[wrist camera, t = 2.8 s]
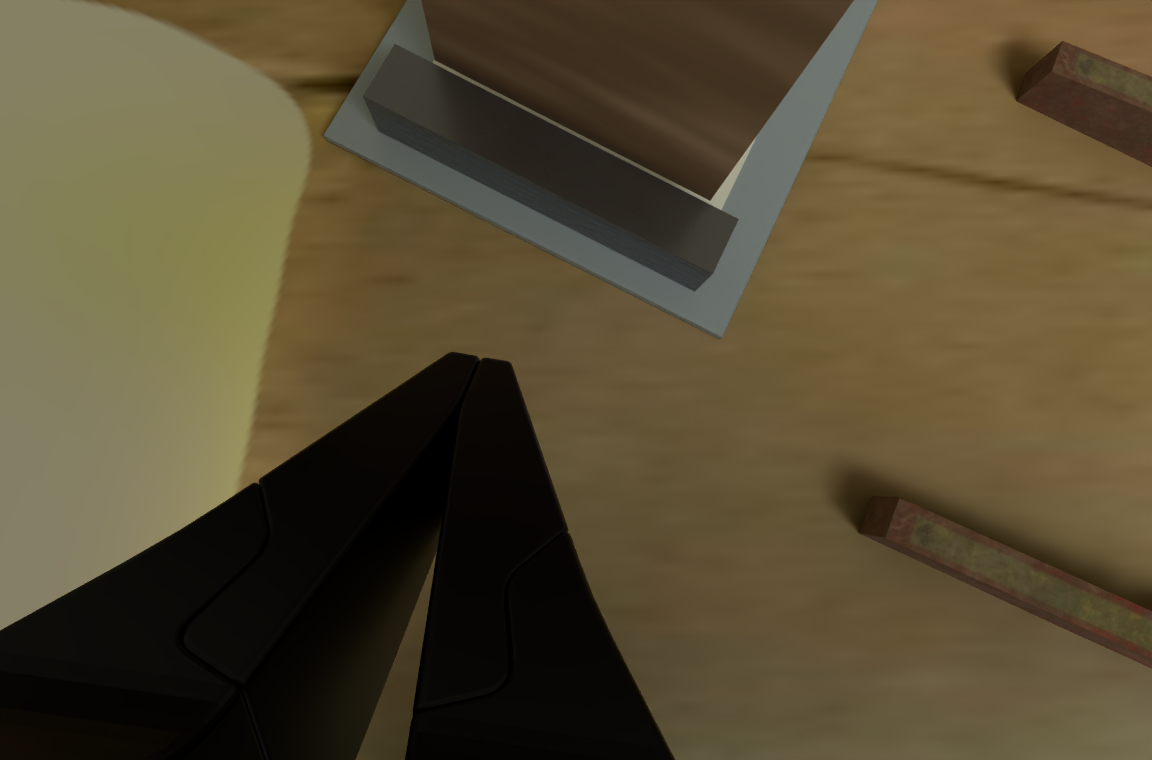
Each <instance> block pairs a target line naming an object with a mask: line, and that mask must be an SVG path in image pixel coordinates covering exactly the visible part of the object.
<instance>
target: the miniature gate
mask: <svg viewBox="0 0 1152 760" xmlns="http://www.w3.org/2000/svg"><path fill="white" fill-rule="evenodd" d="M1017 102H1019V103H1021V104H1023V105H1026V106H1028V107H1030V108H1032V109H1034V110H1036V111H1038V112H1040V113H1042V114H1044V115H1046V116H1048V117H1050V118H1052V119H1054V120H1056V121H1058V122H1061V123H1063V124H1065V125H1067V126H1069V127H1071V128H1073V129H1075V130H1077V131H1079V132H1081V133H1083V134H1085V135H1087V136H1089V137H1091V138H1093V139H1095V140H1098V141H1100V142H1102V143H1104V144H1106V145H1108V146H1110V147H1112V148H1114V149H1116V150H1118V151H1120V152H1122V153H1124V154H1126V155H1128V156H1130V157H1133V158H1135V159H1137V160H1139V161H1141V162H1143V163H1145V164H1147V165H1149V166H1151V167H1152V77H1151V76H1148V75H1146V74H1143V73H1141V72H1138V71H1136V70H1133V69H1131V68H1128V67H1126V66H1123V65H1121V64H1118V63H1116V62H1113V61H1111V60H1108V59H1106V58H1103V57H1101V56H1098V55H1096V54H1094V53H1091V52H1089V51H1086V50H1084V49H1081V48H1079V47H1076V46H1074V45H1071V44H1069V43H1066V42H1064V41H1062V42H1061V43H1060V44H1059V45H1057V46H1056V47H1055V48H1054V49H1053V50H1052V51H1051V52H1050V53H1048V54H1047V55H1046V56H1045V57H1044V58H1043V59H1042V60H1040V61H1039V62H1038V63H1037V64H1036V65H1035V66H1034V67H1033V68H1031V69H1030V70H1029V71H1028V72H1027V73H1026V76H1025V79H1024V81H1023V84H1022V87H1021V90H1020V92H1019V95H1018V98H1017ZM859 533H860V534H862V535H864V536H866V537H869V538H871V539H873V540H875V541H877V542H879V543H881V544H884V545H886V546H888V547H890V548H892V549H894V550H896V551H899V552H901V553H903V554H905V555H907V556H909V557H911V558H914V559H916V560H918V561H920V562H922V563H924V564H927V565H929V566H931V567H933V568H935V569H937V570H939V571H942V572H944V573H946V574H948V575H950V576H952V577H954V578H957V579H959V580H961V581H963V582H965V583H967V584H969V585H972V586H974V587H976V588H978V589H980V590H982V591H984V592H987V593H989V594H991V595H993V596H995V597H997V598H1000V599H1002V600H1004V601H1006V602H1008V603H1010V604H1012V605H1015V606H1017V607H1019V608H1021V609H1023V610H1025V611H1027V612H1030V613H1032V614H1034V615H1036V616H1038V617H1040V618H1042V619H1045V620H1047V621H1049V622H1051V623H1053V624H1056V625H1058V626H1060V627H1062V628H1064V629H1067V630H1069V631H1071V632H1073V633H1075V634H1078V635H1080V636H1082V637H1084V638H1086V639H1089V640H1091V641H1093V642H1095V643H1097V644H1099V645H1102V646H1104V647H1106V648H1108V649H1110V650H1113V651H1115V652H1117V653H1119V654H1121V655H1124V656H1126V657H1128V658H1130V659H1132V660H1135V661H1137V662H1139V663H1141V664H1143V665H1146V666H1148V667H1150V668H1152V611H1150V610H1148V609H1146V608H1143V607H1141V606H1139V605H1137V604H1134V603H1132V602H1130V601H1128V600H1126V599H1123V598H1121V597H1119V596H1117V595H1114V594H1112V593H1110V592H1108V591H1106V590H1103V589H1101V588H1099V587H1097V586H1094V585H1092V584H1090V583H1088V582H1086V581H1083V580H1081V579H1079V578H1077V577H1074V576H1072V575H1070V574H1068V573H1066V572H1063V571H1061V570H1059V569H1057V568H1055V567H1052V566H1050V565H1048V564H1046V563H1043V562H1041V561H1039V560H1037V559H1035V558H1032V557H1030V556H1028V555H1026V554H1023V553H1021V552H1019V551H1017V550H1015V549H1012V548H1010V547H1008V546H1006V545H1003V544H1001V543H999V542H997V541H995V540H992V539H990V538H988V537H986V536H983V535H981V534H979V533H977V532H975V531H972V530H970V529H968V528H966V527H963V526H961V525H959V524H957V523H955V522H952V521H950V520H948V519H946V518H943V517H941V516H939V515H937V514H935V513H932V512H930V511H928V510H926V509H923V508H921V507H919V506H917V505H915V504H912V503H910V502H908V501H906V500H903V499H901V498H894V497H875V496H872V499H871V502H870V504H869V507H868V510H867V513H866V515H865V518H864V521H863V524H862V526H861V529H860V532H859Z"/></svg>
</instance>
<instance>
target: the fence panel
mask: <svg viewBox="0 0 1152 760" xmlns="http://www.w3.org/2000/svg"><path fill="white" fill-rule="evenodd" d="M421 1H422V6H423V10H424V15H425V19H426V23H427V28H428V32H429V37H430V41H431V46H432V50H433V55H434V59H435V61H437V62H439V63H441V64H443V65H445V66H447V67H449V68H451V69H453V70H455V71H456V72H458V73H460V74H462V75H464V76H466V77H468V78H470V79H472V80H474V81H476V82H478V83H480V84H482V85H484V86H486V87H488V88H490V89H492V90H494V91H496V92H498V93H500V94H502V95H504V96H505V97H507V98H509V99H511V100H513V101H515V102H517V103H519V104H521V105H523V106H525V107H527V108H529V109H531V110H533V111H535V112H537V113H539V114H541V115H543V116H545V117H547V118H549V119H551V120H553V121H554V122H556V123H558V124H560V125H562V126H564V127H566V128H568V129H570V130H572V131H574V132H576V133H578V134H580V135H582V136H584V137H586V138H588V139H590V140H592V141H594V142H596V143H598V144H600V145H602V146H603V147H605V148H607V149H609V150H611V151H613V152H615V153H617V154H619V155H621V156H623V157H625V158H627V159H629V160H631V161H633V162H635V163H637V164H639V165H641V166H643V167H645V168H647V169H649V170H651V171H652V172H654V173H656V174H658V175H660V176H662V177H664V178H666V179H668V180H670V181H672V182H674V183H676V184H678V185H680V186H682V187H684V188H686V189H688V190H690V191H692V192H694V193H696V194H698V195H700V196H701V197H703V198H705V199H707V200H709V201H710V200H711V199H712V198H713V196H714V195H715V193H716V192H717V191H718V189H719V188H720V186H721V185H722V184H723V182H724V181H725V180H726V178H727V177H728V175H729V174H730V173H731V171H732V170H733V168H734V167H735V166H736V164H737V163H738V161H739V160H740V159H741V157H742V156H743V154H744V153H745V152H746V150H747V149H748V147H749V146H750V145H751V143H752V142H753V140H754V139H755V138H756V136H757V135H758V134H759V132H760V131H761V129H762V128H763V127H764V125H765V124H766V122H767V121H768V120H769V118H770V117H771V115H772V114H773V113H774V111H775V110H776V108H777V107H778V106H779V104H780V103H781V101H782V100H783V99H784V97H785V96H786V94H787V93H788V92H789V90H790V89H791V88H792V86H793V85H794V83H795V82H796V81H797V79H798V78H799V76H800V75H801V74H802V72H803V71H804V69H805V68H806V67H807V65H808V64H809V62H810V61H811V60H812V58H813V57H814V55H815V54H816V53H817V51H818V50H819V48H820V47H821V46H822V44H823V43H824V42H825V40H826V39H827V37H828V36H829V35H830V33H831V32H832V30H833V29H834V28H835V26H836V25H837V23H838V22H839V21H840V19H841V18H842V16H843V15H844V14H845V12H846V11H847V9H848V8H849V7H850V5H851V4H852V2H853V1H854V0H421Z"/></svg>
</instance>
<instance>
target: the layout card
mask: <svg viewBox="0 0 1152 760" xmlns="http://www.w3.org/2000/svg"><path fill="white" fill-rule="evenodd" d="M877 1H878V0H854V1H853V2H852V4H851V5H850V7H849V8H848V9H847V11H846V12H845V14H844V15H843V16H842V18H841V19H840V21H839V22H838V23H837V25H836V26H835V28H834V29H833V30H832V32H831V33H830V35H829V36H828V37H827V39H826V40H825V42H824V43H823V44H822V46H821V47H820V48H819V50H818V51H817V53H816V54H815V55H814V57H813V58H812V60H811V61H810V62H809V64H808V65H807V67H806V68H805V69H804V71H803V72H802V74H801V75H800V76H799V78H798V79H797V81H796V82H795V83H794V85H793V86H792V88H791V89H790V90H789V92H788V93H787V94H786V96H785V97H784V99H783V100H782V101H781V103H780V104H779V106H778V107H777V108H776V110H775V111H774V113H773V114H772V115H771V117H770V118H769V120H768V121H767V122H766V124H765V125H764V127H763V128H762V129H761V131H760V132H759V134H758V135H757V136H756V138H755V139H754V140H753V142H752V143H751V145H750V146H749V147H748V149H747V150H746V152H745V153H744V154H743V156H742V157H741V159H740V160H739V161H738V163H737V164H736V166H735V167H734V168H733V170H732V171H731V173H730V174H729V175H728V177H727V178H726V180H725V181H724V182H723V184H722V185H721V186H720V188H719V189H718V191H717V192H716V193H715V195H714V196H713V198H712V199H711V200H710V201H709V200H707V199H705V198H703V197H701V196H700V195H698V194H696V193H694V192H692V191H690V190H688V189H686V188H684V187H682V186H680V185H678V184H676V183H674V182H672V181H670V180H668V179H666V178H664V177H662V176H660V175H658V174H656V173H654V172H652V171H651V170H649V169H647V168H645V167H643V166H641V165H639V164H637V163H635V162H633V161H631V160H629V159H627V158H625V157H623V156H621V155H619V154H617V153H615V152H613V151H611V150H609V149H607V148H605V147H603V146H602V145H600V144H598V143H596V142H594V141H592V140H590V139H588V138H586V137H584V136H582V135H580V134H578V133H576V132H574V131H572V130H570V129H568V128H566V127H564V126H562V125H560V124H558V123H556V122H554V121H553V120H551V119H549V118H547V117H545V116H543V115H541V114H539V113H537V112H535V111H533V110H531V109H529V108H527V107H525V106H523V105H521V104H519V103H517V102H515V101H513V100H511V99H509V98H507V97H505V96H504V95H502V94H500V93H498V92H496V91H494V90H492V89H490V88H488V87H486V86H484V85H482V84H480V83H478V82H476V81H474V80H472V79H470V78H468V77H466V76H464V75H462V74H460V73H458V72H456V71H455V70H453V69H451V68H449V67H447V66H445V65H443V64H441V63H439V62H437V61H435V59H434V55H433V50H432V46H431V41H430V37H429V32H428V28H427V23H426V19H425V15H424V10H423V6H422V1H421V0H407V1H406V3H405V4H404V6H403V7H402V9H401V11H400V12H399V14H398V16H397V17H396V19H395V20H394V22H393V24H392V25H391V27H390V28H389V30H388V32H387V33H386V35H385V37H384V38H383V40H382V41H381V43H380V45H379V46H378V48H377V49H376V51H375V53H374V54H373V56H372V58H371V59H370V61H369V62H368V64H367V66H366V67H365V69H364V70H363V72H362V74H361V75H360V77H359V79H358V80H357V82H356V83H355V85H354V87H353V88H352V90H351V92H350V93H349V95H348V96H347V98H346V100H345V101H344V103H343V104H342V106H341V108H340V109H339V111H338V113H337V114H336V116H335V117H334V119H333V121H332V122H331V124H330V125H329V127H328V129H327V130H326V132H325V134H324V135H323V136H324V137H325V139H326V140H327V141H329V142H331V143H333V144H335V145H337V146H339V147H341V148H343V149H345V150H347V151H349V152H351V153H353V154H355V155H357V156H359V157H361V158H363V159H365V160H367V161H369V162H371V163H373V164H375V165H376V166H378V167H380V168H382V169H384V170H386V171H388V172H390V173H392V174H394V175H396V176H398V177H400V178H402V179H404V180H406V181H408V182H410V183H412V184H414V185H416V186H418V187H420V188H422V189H424V190H426V191H428V192H430V193H432V194H434V195H436V196H438V197H440V198H442V199H444V200H446V201H448V202H450V203H452V204H454V205H456V206H458V207H459V208H461V209H463V210H465V211H467V212H469V213H471V214H473V215H475V216H477V217H479V218H481V219H483V220H485V221H487V222H489V223H491V224H493V225H495V226H497V227H499V228H501V229H503V230H505V231H507V232H509V233H511V234H513V235H515V236H517V237H519V238H521V239H523V240H525V241H527V242H529V243H531V244H533V245H535V246H537V247H539V248H541V249H543V250H544V251H546V252H548V253H550V254H552V255H554V256H556V257H558V258H560V259H562V260H564V261H566V262H568V263H570V264H572V265H574V266H576V267H578V268H580V269H582V270H584V271H586V272H588V273H590V274H592V275H594V276H596V277H598V278H600V279H602V280H604V281H606V282H608V283H610V284H612V285H614V286H616V287H618V288H620V289H622V290H624V291H626V292H627V293H629V294H631V295H633V296H635V297H637V298H639V299H641V300H643V301H645V302H647V303H649V304H651V305H653V306H655V307H657V308H659V309H661V310H663V311H665V312H667V313H669V314H671V315H673V316H675V317H677V318H679V319H681V320H683V321H685V322H687V323H689V324H691V325H693V326H695V327H697V328H699V329H701V330H703V331H705V332H707V333H709V334H710V335H712V336H714V337H716V338H718V339H720V338H722V337H723V334H724V332H725V330H726V328H727V326H728V324H729V321H730V319H731V317H732V315H733V313H734V311H735V308H736V306H737V304H738V302H739V300H740V298H741V295H742V293H743V291H744V289H745V287H746V285H747V282H748V280H749V278H750V276H751V274H752V272H753V269H754V267H755V265H756V263H757V261H758V259H759V256H760V254H761V252H762V250H763V248H764V246H765V243H766V241H767V239H768V237H769V235H770V233H771V230H772V228H773V226H774V224H775V222H776V220H777V217H778V215H779V213H780V211H781V209H782V207H783V204H784V202H785V200H786V198H787V196H788V194H789V191H790V189H791V187H792V185H793V183H794V181H795V178H796V176H797V174H798V172H799V170H800V168H801V165H802V163H803V161H804V159H805V157H806V155H807V152H808V150H809V148H810V146H811V144H812V142H813V139H814V137H815V135H816V133H817V131H818V129H819V126H820V124H821V122H822V120H823V118H824V116H825V113H826V111H827V109H828V107H829V105H830V103H831V100H832V98H833V96H834V94H835V92H836V90H837V87H838V85H839V83H840V81H841V79H842V77H843V74H844V72H845V70H846V68H847V66H848V64H849V61H850V59H851V57H852V55H853V53H854V51H855V48H856V46H857V44H858V42H859V40H860V38H861V35H862V33H863V31H864V29H865V27H866V25H867V22H868V20H869V18H870V16H871V14H872V12H873V9H874V7H875V5H876V3H877ZM394 44H396V45H398V46H400V47H402V48H404V49H406V50H408V51H410V52H412V53H414V54H416V55H418V56H420V57H422V58H424V59H426V60H428V61H430V62H432V63H434V64H436V65H438V66H440V67H442V68H444V69H445V70H447V71H449V72H451V73H453V74H455V75H457V76H459V77H461V78H463V79H465V80H467V81H469V82H471V83H473V84H475V85H477V86H479V87H481V88H483V89H485V90H487V91H489V92H491V93H493V94H494V95H496V96H498V97H500V98H502V99H504V100H506V101H508V102H510V103H512V104H514V105H516V106H518V107H520V108H522V109H524V110H526V111H528V112H530V113H532V114H534V115H536V116H538V117H540V118H542V119H543V120H545V121H547V122H549V123H551V124H553V125H555V126H557V127H559V128H561V129H563V130H565V131H567V132H569V133H571V134H573V135H575V136H577V137H579V138H581V139H583V140H585V141H587V142H589V143H591V144H592V145H594V146H596V147H598V148H600V149H602V150H604V151H606V152H608V153H610V154H612V155H614V156H616V157H618V158H620V159H622V160H624V161H626V162H628V163H630V164H632V165H634V166H636V167H638V168H640V169H642V170H643V171H645V172H647V173H649V174H651V175H653V176H655V177H657V178H659V179H661V180H663V181H665V182H667V183H669V184H671V185H673V186H675V187H677V188H679V189H681V190H683V191H685V192H687V193H689V194H691V195H692V196H694V197H696V198H698V199H700V200H702V201H704V202H706V203H708V204H710V205H712V206H714V207H716V208H718V209H720V210H722V211H724V212H726V213H728V214H730V215H732V216H734V217H736V218H738V219H739V220H738V222H737V224H736V226H735V228H734V231H733V233H732V235H731V237H730V239H729V241H728V243H727V245H726V247H725V250H724V252H723V254H722V256H721V258H720V260H719V262H718V264H717V267H716V269H715V271H714V273H713V274H712V275H711V276H710V277H709V278H708V279H707V280H706V281H705V282H704V283H703V284H702V285H701V286H700V287H699V288H698V289H697V290H696V291H695V292H694V291H692V290H690V289H688V288H686V287H684V286H682V285H680V284H678V283H677V282H675V281H673V280H671V279H669V278H667V277H665V276H663V275H661V274H659V273H657V272H655V271H653V270H651V269H649V268H647V267H645V266H643V265H641V264H639V263H637V262H635V261H633V260H631V259H629V258H627V257H625V256H623V255H621V254H619V253H617V252H615V251H613V250H611V249H609V248H607V247H606V246H604V245H602V244H600V243H598V242H596V241H594V240H592V239H590V238H588V237H586V236H584V235H582V234H580V233H578V232H576V231H574V230H572V229H570V228H568V227H566V226H564V225H562V224H560V223H558V222H556V221H554V220H552V219H550V218H548V217H546V216H544V215H542V214H540V213H538V212H536V211H535V210H533V209H531V208H529V207H527V206H525V205H523V204H521V203H519V202H517V201H515V200H513V199H511V198H509V197H507V196H505V195H503V194H501V193H499V192H497V191H495V190H493V189H491V188H489V187H487V186H485V185H483V184H481V183H479V182H477V181H475V180H473V179H471V178H469V177H467V176H465V175H464V174H462V173H460V172H458V171H456V170H454V169H452V168H450V167H448V166H446V165H444V164H442V163H440V162H438V161H436V160H434V159H432V158H430V157H428V156H426V155H424V154H422V153H420V152H418V151H416V150H414V149H412V148H410V147H408V146H406V145H404V144H402V143H400V142H398V141H396V140H395V139H393V138H391V137H389V136H387V135H385V134H383V133H381V132H379V131H378V129H377V127H376V125H375V122H374V120H373V118H372V116H371V113H370V111H369V109H368V107H367V104H366V102H365V100H364V97H363V95H364V93H365V92H366V90H367V88H368V87H369V85H370V83H371V82H372V80H373V79H374V77H375V75H376V74H377V72H378V70H379V69H380V67H381V65H382V64H383V62H384V61H385V59H386V57H387V56H388V54H389V52H390V51H391V49H392V48H393V46H394Z"/></svg>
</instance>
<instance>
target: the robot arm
mask: <svg viewBox="0 0 1152 760" xmlns="http://www.w3.org/2000/svg"><path fill="white" fill-rule="evenodd" d="M436 551H437V555H436V562H435V568H434V575H433V581H432V588H431V594H430V601H429V607H428V614H427V621H426V627H425V634H424V640H423V647H422V653H421V660H420V667H419V673H418V680H417V686H416V693H415V699H414V706H413V718H412V721H411V726H410V732H409V738H408V744H407V751H406V756H405V760H675V758H674V756H673V755H672V753H671V751H670V749H669V747H668V745H667V743H666V741H665V739H664V737H663V735H662V733H661V731H660V729H659V727H658V726H657V724H656V722H655V720H654V718H653V716H652V714H651V712H650V710H649V708H648V706H647V704H646V702H645V700H644V698H643V696H642V694H641V692H640V690H639V688H638V686H637V684H636V682H635V680H634V678H633V676H632V674H631V673H630V671H629V669H628V667H627V665H626V663H625V661H624V659H623V657H622V655H621V653H620V651H619V649H618V647H617V645H616V643H615V641H614V639H613V637H612V635H611V633H610V631H609V629H608V626H607V624H606V622H605V620H604V618H603V616H602V614H601V612H600V609H599V607H598V605H597V603H596V601H595V599H594V597H593V594H592V592H591V589H590V586H589V584H588V581H587V579H586V576H585V574H584V571H583V568H582V566H581V563H580V561H579V558H578V555H577V552H576V549H575V546H574V543H573V540H572V538H571V535H570V534H569V533H568V527H567V524H566V521H565V518H564V515H563V512H562V509H561V506H560V504H559V501H558V498H557V495H556V492H555V489H554V486H553V483H552V480H551V477H550V474H549V472H548V469H547V466H546V463H545V460H544V457H543V454H542V451H541V448H540V445H539V442H538V439H537V437H536V434H535V431H534V428H533V425H532V422H531V419H530V416H529V413H528V410H527V407H526V405H525V402H524V399H523V396H522V393H521V390H520V387H519V384H518V381H517V378H516V375H515V372H514V370H513V367H512V365H511V363H510V362H508V361H503V360H497V359H491V358H483V359H481V360H479V358H478V357H477V356H474V355H468V354H462V353H456V352H450V353H448V354H446V355H445V356H443V357H442V358H440V359H439V360H437V361H436V362H434V363H433V364H431V365H430V366H428V367H427V368H425V369H424V370H422V371H421V372H419V373H418V374H416V375H415V376H413V377H412V378H410V379H409V380H407V381H406V382H404V383H403V384H401V385H400V386H398V387H397V388H395V389H394V390H392V391H391V392H389V393H388V394H386V395H384V396H383V397H381V398H380V399H378V400H377V401H375V402H374V403H372V404H371V405H369V406H368V407H366V408H365V409H363V410H362V411H360V412H359V413H357V414H356V415H354V416H353V417H351V418H350V419H348V420H347V421H345V422H344V423H342V424H341V425H339V426H338V427H336V428H335V429H333V430H332V431H330V432H329V433H327V434H326V435H324V436H323V437H321V438H320V439H318V440H317V441H315V442H314V443H312V444H311V445H309V446H308V447H306V448H305V449H303V450H302V451H300V452H299V453H297V454H296V455H294V456H293V457H291V458H290V459H288V460H287V461H285V462H284V463H282V464H281V465H279V466H278V467H276V468H275V469H273V470H272V471H270V472H269V473H267V474H266V475H264V476H263V477H261V478H260V479H259V484H257V483H252V484H250V485H249V486H247V487H246V488H244V489H243V490H241V491H240V492H238V493H237V494H235V495H234V496H232V497H231V498H229V499H228V500H226V501H225V502H223V503H222V504H220V505H219V506H217V507H216V508H214V509H212V510H211V511H209V512H208V513H206V514H204V515H203V516H201V517H200V518H198V519H196V520H195V521H193V522H192V523H190V524H189V525H187V526H185V527H184V528H182V529H181V530H179V531H177V532H176V533H174V534H172V535H171V536H169V537H167V538H165V539H163V540H162V541H160V542H158V543H156V544H155V545H153V546H151V547H149V548H148V549H146V550H144V551H143V552H141V553H139V554H138V555H136V556H134V557H132V558H130V559H129V560H127V561H125V562H124V563H122V564H120V565H118V566H116V567H114V568H113V569H111V570H109V571H107V572H105V573H104V574H102V575H100V576H98V577H96V578H94V579H93V580H91V581H89V582H87V583H85V584H84V585H82V586H80V587H78V588H76V589H75V590H73V591H71V592H69V593H67V594H66V595H64V596H62V597H60V598H58V599H56V600H55V601H53V602H51V603H49V604H47V605H46V606H44V607H42V608H40V609H38V610H36V611H35V612H33V613H31V614H29V615H27V616H26V617H24V618H22V619H20V620H18V621H16V622H15V623H13V624H11V625H9V626H7V627H6V628H4V629H2V630H0V760H356V757H357V754H358V752H359V749H360V747H361V744H362V742H363V739H364V736H365V734H366V731H367V729H368V726H369V723H370V721H371V718H372V716H373V713H374V711H375V708H376V705H377V703H378V700H379V698H380V695H381V693H382V690H383V687H384V685H385V682H386V680H387V677H388V675H389V672H390V669H391V667H392V664H393V662H394V659H395V657H396V654H397V651H398V649H399V646H400V644H401V641H402V639H403V636H404V633H405V631H406V628H407V626H408V623H409V621H410V618H411V615H412V613H413V610H414V608H415V605H416V603H417V600H418V597H419V595H420V592H421V590H422V587H423V585H424V582H425V579H426V577H427V574H428V572H429V569H430V567H431V564H432V561H433V559H434V556H435V554H436Z"/></svg>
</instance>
